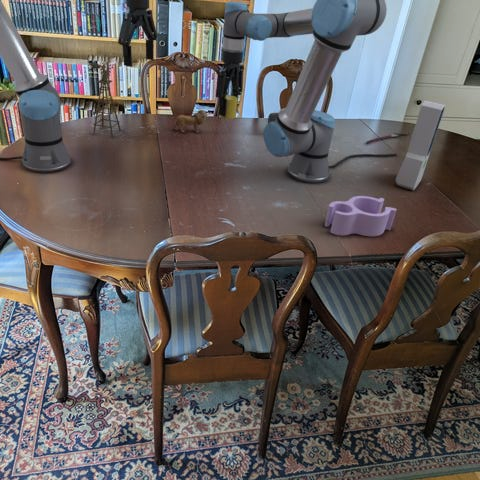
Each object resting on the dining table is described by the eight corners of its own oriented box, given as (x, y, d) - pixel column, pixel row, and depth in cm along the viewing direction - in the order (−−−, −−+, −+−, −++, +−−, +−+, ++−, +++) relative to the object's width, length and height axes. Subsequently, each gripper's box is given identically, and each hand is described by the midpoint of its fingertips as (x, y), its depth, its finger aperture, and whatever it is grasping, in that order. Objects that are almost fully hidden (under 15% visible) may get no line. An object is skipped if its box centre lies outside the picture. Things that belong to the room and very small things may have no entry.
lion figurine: (203, 128, 203) (204, 107, 198) (207, 132, 199) (208, 111, 194) (170, 129, 198) (170, 108, 193) (173, 133, 194) (173, 112, 189)
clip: (337, 240, 135) (342, 219, 131) (318, 218, 145) (322, 198, 141) (395, 233, 141) (402, 213, 137) (373, 213, 151) (378, 194, 147)
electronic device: (413, 191, 168) (440, 109, 151) (393, 185, 171) (417, 104, 154) (421, 180, 177) (448, 101, 161) (402, 174, 180) (426, 96, 164)
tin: (237, 118, 178) (239, 100, 174) (221, 118, 176) (222, 100, 172) (233, 113, 183) (235, 94, 179) (217, 113, 181) (218, 94, 178)
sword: (404, 132, 223) (404, 129, 222) (409, 134, 221) (409, 132, 220) (360, 143, 207) (361, 141, 206) (365, 146, 205) (366, 143, 204)
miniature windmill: (112, 137, 184) (107, 58, 168) (92, 134, 185) (85, 54, 169) (121, 130, 192) (117, 53, 176) (102, 127, 193) (96, 50, 177)
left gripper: (124, -2, 141) (127, 70, 153) (167, -6, 161) (166, 58, 172) (104, -5, 143) (108, 66, 155) (148, -9, 163) (149, 55, 175)
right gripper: (239, 45, 175) (234, 106, 188) (207, 51, 161) (204, 116, 174) (256, 49, 172) (249, 110, 185) (225, 55, 158) (220, 121, 170)
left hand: (139, 62), depth 164 cm, fingers open, 13 cm apart
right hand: (227, 113), depth 179 cm, fingers closed on tin, 7 cm apart
